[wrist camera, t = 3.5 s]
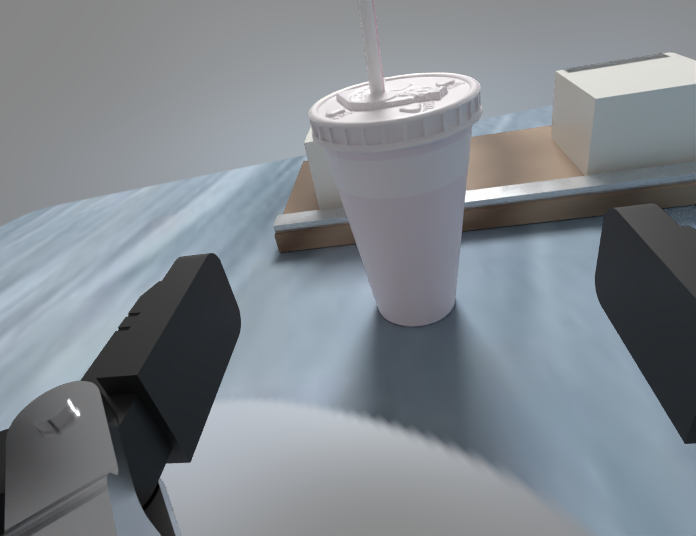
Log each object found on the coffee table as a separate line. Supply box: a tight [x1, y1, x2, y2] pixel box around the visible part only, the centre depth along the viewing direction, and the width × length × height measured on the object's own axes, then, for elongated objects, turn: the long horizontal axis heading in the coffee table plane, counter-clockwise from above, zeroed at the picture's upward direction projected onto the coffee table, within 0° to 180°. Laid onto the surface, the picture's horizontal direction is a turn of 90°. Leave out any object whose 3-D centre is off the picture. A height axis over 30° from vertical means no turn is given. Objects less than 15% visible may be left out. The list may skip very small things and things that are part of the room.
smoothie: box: [309, 0, 483, 326], centre depth 18 cm, size 6×6×14 cm
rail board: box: [273, 52, 696, 252], centre depth 30 cm, size 28×12×6 cm, turn 86°
